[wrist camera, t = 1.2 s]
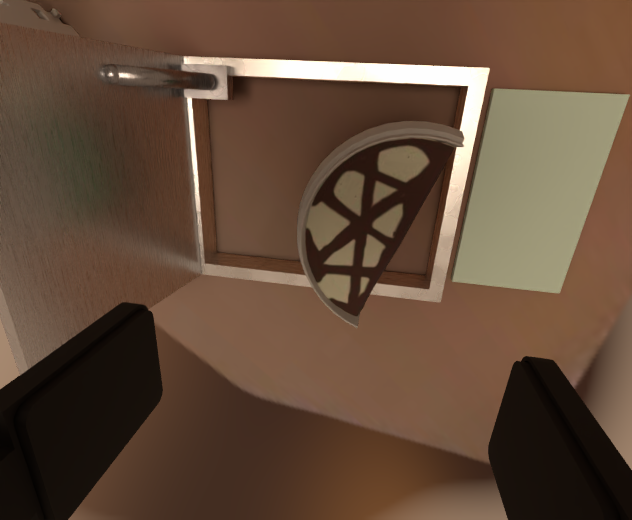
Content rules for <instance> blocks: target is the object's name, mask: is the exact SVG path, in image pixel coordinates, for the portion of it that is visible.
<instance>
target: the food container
mask: <svg viewBox="0 0 632 520" xmlns="http://www.w3.org/2000/svg"><path fill="white" fill-rule="evenodd" d="M464 139H465V138H464V135H463V132H462V131H460V130H457V129H455V128H452V127H449V126H446V125H442V124H437V123H432V122H426V121H401V122H394V123H387V124H383V125H380V126H377V127H374V128H370V129H367V130H365V131H363V132H361V133H359V134H357V135H355V136H353V137H351V138H350V139H348V140H347V141H345V142H344V143H342V144H341V145H340V146H338V147H337V148H335V149H334V150H333V151H332V152H331V153H330V154H329V155H328V156H327V157H326V158H325V159H324V160H323V161H322V162H321V164H320V165H319V167H318V168H317V169H316V171H315V172H314V173H313V175H312V176H311V178H310V180H309V182H308V184H307V186H306V188H305V190H304V193H303V196H302V199H301V202H300V206H299V212H298V219H297V245H298V251H299V257H300V261H301V264H302V267H303V270H304V273H305V275H306V277H307V279H308V281H309V283H310V285H311V286H312V288H313V289H314V291H315V292H316V294H317V295H318V296H319V298H320V299H321V300H322V302H323V303H324V304H325V305H326V306H327V307H328V308H329V309H330V310H331V311H332V312H333V313H334V314H336V315H337V316H339V317H340V318H341V319H343V320H344V321H345V322H347V323H349V324H351V325H352V326H354V327H356V328H357V327H358V321H359V315H360V311H361V310H362V309H363V307H364V305H365V302H366V300H367V298H368V297H369V295H370V293H371V291H372V290H373V288H374V286H375V285H376V283H377V281H378V280H379V278H380V276H381V275H382V273H383V271H384V270H385V268H386V266H387V265H388V263H389V262H390V260H391V258H392V257H393V255H394V254H395V252H396V250H397V249H398V247H399V246H400V244H401V242H402V240H403V239H404V237H405V235H406V233H407V231H408V229H409V228H410V226H411V224H412V222H413V220H414V218H415V217H416V215H417V213H418V211H419V210H420V208H421V206H422V204H423V203H424V201H425V199H426V197H427V196H428V194H429V192H430V190H431V189H432V187H433V185H434V184H435V182H436V180H437V178H438V177H439V175H440V173H441V171H442V170H443V168H444V166H445V164H446V163H447V161H448V159H449V157H450V156H451V154H452V152H453V150H454V149H455V147H464V145H463V144H462V143H463V141H464Z"/></svg>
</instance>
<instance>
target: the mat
mask: <svg viewBox="0 0 632 520" xmlns="http://www.w3.org/2000/svg"><path fill="white" fill-rule="evenodd" d="M629 96H630V95H626V94H604V93H582V92H560V91H538V90H516V89H492V91H491V95H490V100H489V105H488V109H487V114H486V118H485V123H484V128H483V132H482V137H481V141H480V146H479V151H478V155H477V160H476V165H475V169H474V174H473V178H472V183H471V188H470V192H469V197H468V202H467V206H466V211H465V215H464V220H463V225H462V229H461V234H460V238H459V243H458V248H457V252H456V257H455V262H454V266H453V271H452V275H451V280H452V282H461V283H470V284H479V285H488V286H497V287H506V288H515V289H524V290H533V291H542V292H551V293H560V290H561V288H562V285H563V282H564V279H565V276H566V273H567V271H568V268H569V265H570V262H571V259H572V257H573V254H574V251H575V248H576V245H577V242H578V240H579V237H580V234H581V231H582V228H583V226H584V223H585V220H586V217H587V214H588V211H589V209H590V206H591V203H592V200H593V197H594V194H595V192H596V189H597V186H598V183H599V180H600V178H601V175H602V172H603V169H604V166H605V163H606V161H607V158H608V155H609V152H610V149H611V147H612V144H613V141H614V138H615V135H616V132H617V130H618V127H619V124H620V121H621V118H622V115H623V113H624V110H625V107H626V104H627V101H628V99H629Z"/></svg>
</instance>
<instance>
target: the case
mask: <svg viewBox="0 0 632 520" xmlns="http://www.w3.org/2000/svg"><path fill="white" fill-rule="evenodd" d="M489 69H490V68H476V67H450V66H424V65H398V64H373V63H347V62H321V61H295V60H269V59H243V58H217V57H192V56H180V55H174V54H169V53H163V52H158V51H152V50H147V49H142V48H136V47H131V46H125V45H120V44H114V43H109V42H104V41H98V40H93V39H87V38H82V37H76V36H71V35H65V34H60V33H55V32H49V31H44V30H38V29H33V28H27V27H22V26H17V25H11V24H6V23H0V318H1V321H2V324H3V327H4V330H5V333H6V336H7V339H8V341H9V344H10V347H11V350H12V353H13V356H14V359H15V362H16V365H17V367H18V370H19V373H20V375H21V374H23V373H24V372H25V371H27V370H28V369H30V368H31V367H32V366H34V365H35V364H36V363H38V362H39V361H41V360H42V359H43V358H45V357H46V356H48V355H49V354H50V353H52V352H53V351H55V350H56V349H57V348H59V347H60V346H62V345H63V344H64V343H66V342H67V341H68V340H70V339H71V338H73V337H74V336H75V335H77V334H78V333H80V332H81V331H82V330H84V329H85V328H87V327H88V326H89V325H91V324H92V323H94V322H95V321H96V320H98V319H99V318H100V317H102V316H103V315H105V314H106V313H107V312H109V311H110V310H112V309H113V308H114V307H116V306H117V305H119V304H120V303H122V302H129V303H136V304H143V305H145V306H147V308H148V309H150V308H151V307H153V306H154V305H156V304H157V303H159V302H160V301H162V300H163V299H165V298H166V297H168V296H169V295H171V294H172V293H174V292H175V291H177V290H178V289H180V288H181V287H183V286H184V285H186V284H188V283H189V282H191V281H192V280H194V279H195V278H197V277H198V276H200V275H201V274H205V275H214V276H222V277H230V278H239V279H247V280H256V281H264V282H272V283H281V284H289V285H297V286H306V287H312V286H311V285H310V283H309V281H308V279H307V277H306V275H305V273H304V270H303V267H302V264H301V262H299V261H290V260H281V259H272V258H263V257H254V256H245V255H236V254H227V253H218V252H217V243H216V227H215V212H214V196H213V180H212V165H211V149H210V134H209V118H208V103H207V99H220V100H233V78H232V77H244V78H266V79H288V80H310V81H332V82H353V83H375V84H397V85H419V86H441V87H461V88H460V93H459V99H458V104H457V109H456V115H455V120H454V126H453V128H455V129H457V130H460V131H462V132H463V135H464V138H465V139H464V141H463V143H462V144H463V145H464V147H455V149H454V150H453V152H452V154H451V156H450V157H449V159H448V161H447V163H446V169H445V174H444V180H443V185H442V190H441V196H440V201H439V207H438V212H437V217H436V223H435V228H434V233H433V239H432V244H431V250H430V255H429V260H428V266H427V271H426V275H417V274H408V273H399V272H390V271H383V273H382V275H381V276H380V278H379V280H378V281H377V283H376V285H375V286H374V288H373V290H372V291H371V293H370V294H373V295H381V296H390V297H398V298H407V299H415V300H423V301H432V302H441V298H442V293H443V288H444V283H445V279H446V274H447V269H448V264H449V259H450V255H451V250H452V245H453V240H454V236H455V231H456V226H457V221H458V217H459V212H460V207H461V202H462V198H463V193H464V188H465V183H466V179H467V174H468V169H469V164H470V160H471V155H472V150H473V145H474V140H475V136H476V131H477V126H478V121H479V117H480V112H481V107H482V102H483V98H484V93H485V88H486V83H487V79H488V74H489Z"/></svg>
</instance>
